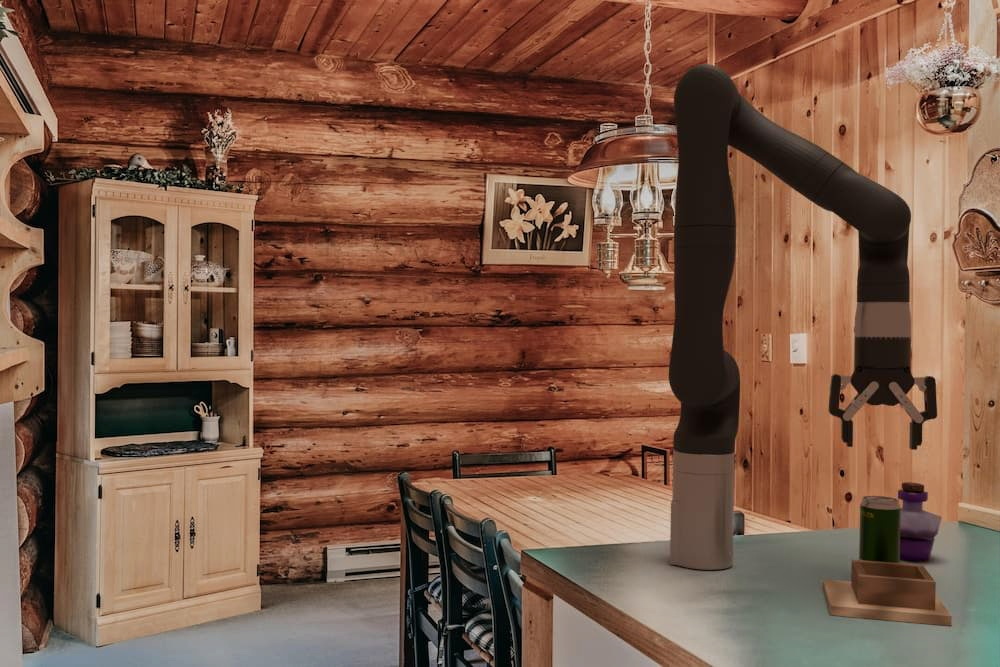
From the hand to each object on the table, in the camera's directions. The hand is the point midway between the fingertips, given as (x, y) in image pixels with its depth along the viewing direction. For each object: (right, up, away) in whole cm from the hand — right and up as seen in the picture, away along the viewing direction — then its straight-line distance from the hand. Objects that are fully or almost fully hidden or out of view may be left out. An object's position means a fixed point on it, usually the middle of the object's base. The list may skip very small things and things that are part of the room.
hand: (881, 447), depth 133 cm
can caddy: (-3, -19, -11) cm, 23 cm away
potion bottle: (+11, -20, +15) cm, 27 cm away
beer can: (0, -20, 0) cm, 20 cm away
